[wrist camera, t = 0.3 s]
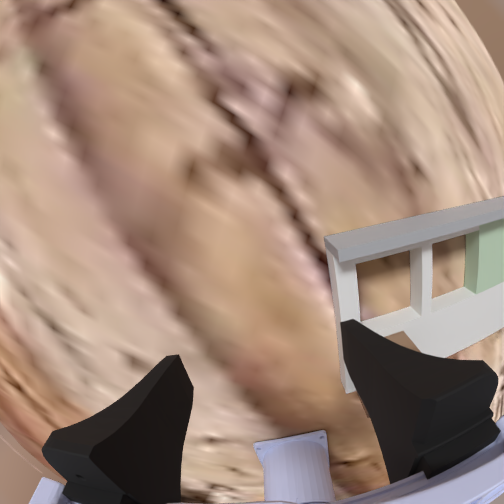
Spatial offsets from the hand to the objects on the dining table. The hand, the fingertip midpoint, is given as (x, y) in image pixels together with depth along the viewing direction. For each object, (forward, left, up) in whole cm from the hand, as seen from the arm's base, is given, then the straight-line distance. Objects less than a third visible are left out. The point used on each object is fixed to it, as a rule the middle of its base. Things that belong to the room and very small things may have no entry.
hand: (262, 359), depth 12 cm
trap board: (-5, -15, -10) cm, 19 cm away
